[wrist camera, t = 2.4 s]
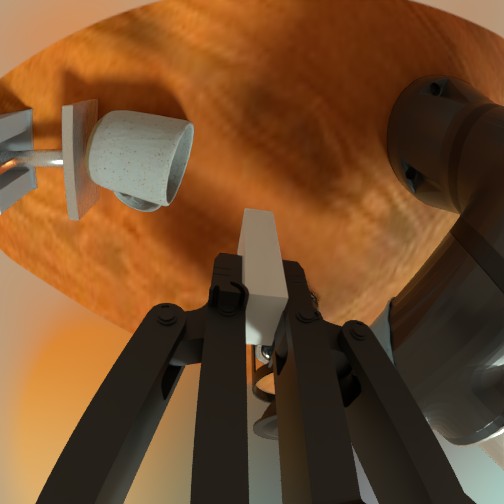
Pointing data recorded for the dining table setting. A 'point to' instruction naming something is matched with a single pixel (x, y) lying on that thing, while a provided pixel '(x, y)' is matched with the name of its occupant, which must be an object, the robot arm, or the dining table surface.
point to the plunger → (66, 157)
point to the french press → (268, 422)
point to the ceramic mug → (139, 157)
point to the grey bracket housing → (16, 139)
